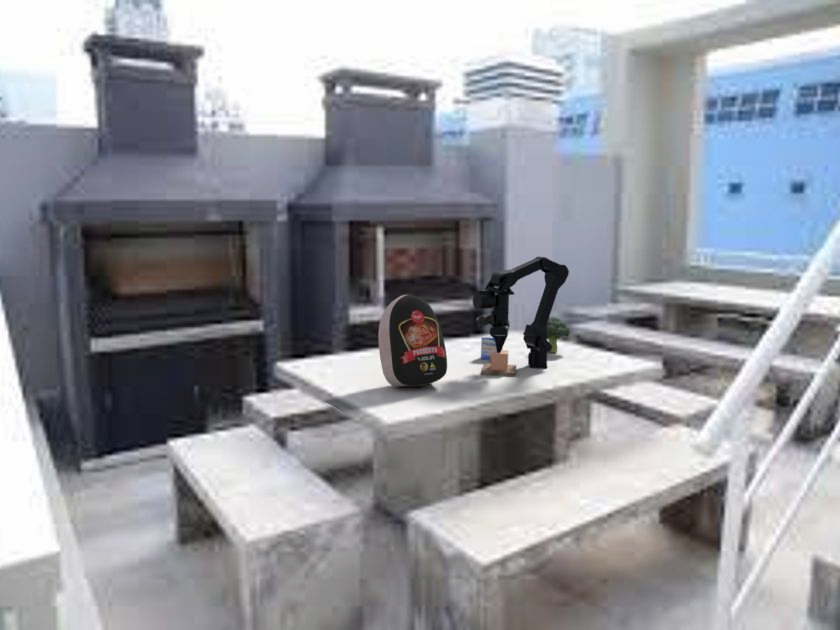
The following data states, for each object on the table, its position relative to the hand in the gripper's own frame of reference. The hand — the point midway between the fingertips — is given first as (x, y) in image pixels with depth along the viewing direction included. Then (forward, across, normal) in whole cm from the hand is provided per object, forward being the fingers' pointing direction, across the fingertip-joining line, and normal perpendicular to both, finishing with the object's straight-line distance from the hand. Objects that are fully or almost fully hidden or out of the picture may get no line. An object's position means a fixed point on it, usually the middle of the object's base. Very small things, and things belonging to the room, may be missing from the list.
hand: (499, 350), depth 247 cm
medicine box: (+8, -20, -4) cm, 22 cm away
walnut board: (+8, 0, 0) cm, 8 cm away
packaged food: (+8, +24, -28) cm, 38 cm away
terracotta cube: (+7, 0, 0) cm, 7 cm away
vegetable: (+8, -36, +20) cm, 42 cm away
